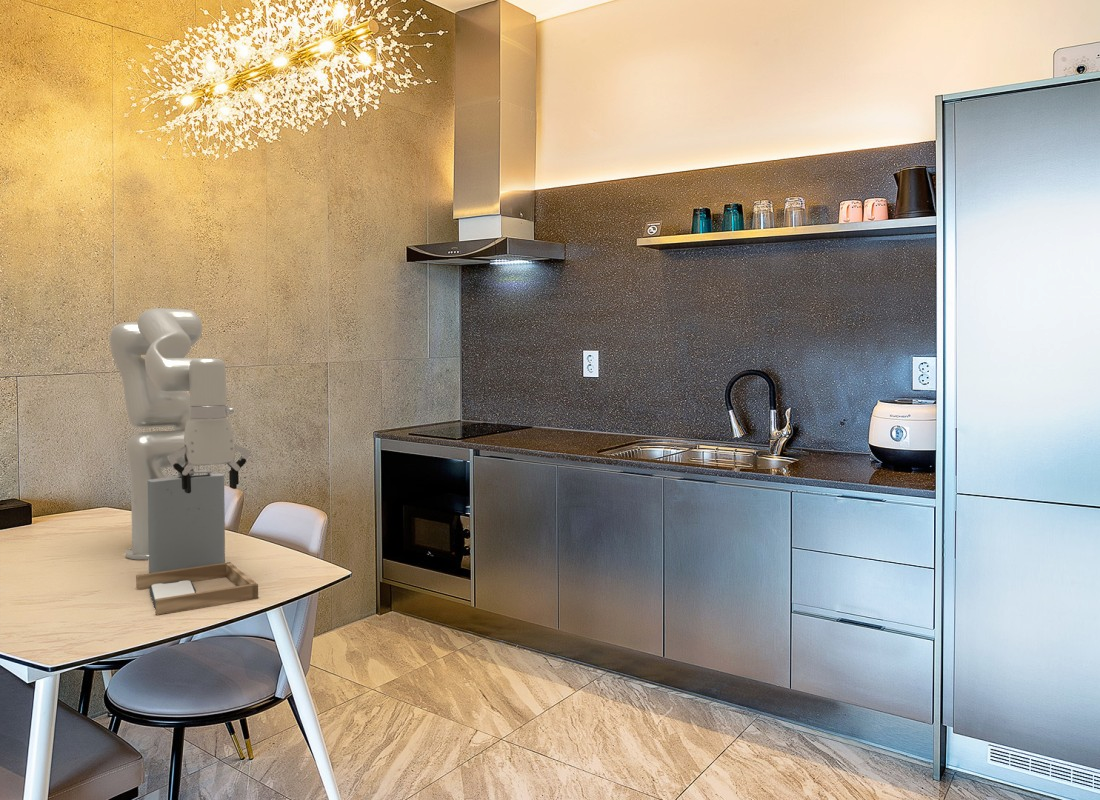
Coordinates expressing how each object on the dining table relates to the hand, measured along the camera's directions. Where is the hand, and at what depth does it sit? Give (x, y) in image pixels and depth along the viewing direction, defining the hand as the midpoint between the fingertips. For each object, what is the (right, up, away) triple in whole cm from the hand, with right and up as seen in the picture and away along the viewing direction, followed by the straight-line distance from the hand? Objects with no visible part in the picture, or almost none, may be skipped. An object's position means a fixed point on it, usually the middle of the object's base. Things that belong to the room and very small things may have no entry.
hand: (210, 490), depth 184 cm
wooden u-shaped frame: (-2, -22, -3) cm, 23 cm away
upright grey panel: (-12, -21, +16) cm, 29 cm away
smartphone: (-6, -23, -6) cm, 24 cm away
